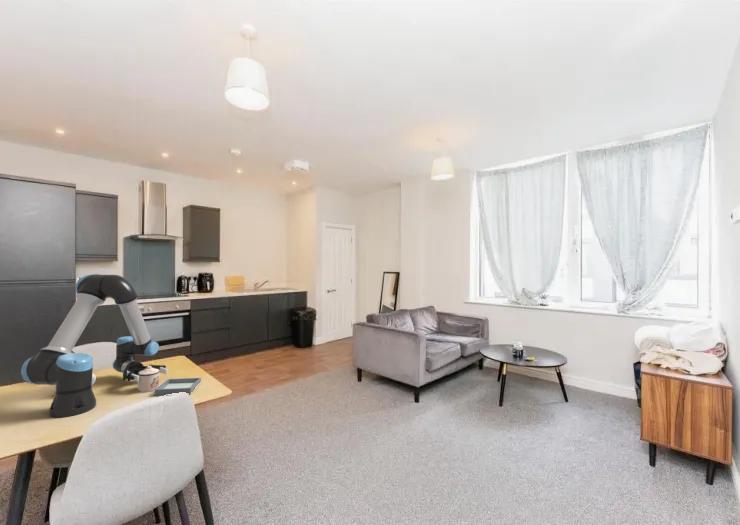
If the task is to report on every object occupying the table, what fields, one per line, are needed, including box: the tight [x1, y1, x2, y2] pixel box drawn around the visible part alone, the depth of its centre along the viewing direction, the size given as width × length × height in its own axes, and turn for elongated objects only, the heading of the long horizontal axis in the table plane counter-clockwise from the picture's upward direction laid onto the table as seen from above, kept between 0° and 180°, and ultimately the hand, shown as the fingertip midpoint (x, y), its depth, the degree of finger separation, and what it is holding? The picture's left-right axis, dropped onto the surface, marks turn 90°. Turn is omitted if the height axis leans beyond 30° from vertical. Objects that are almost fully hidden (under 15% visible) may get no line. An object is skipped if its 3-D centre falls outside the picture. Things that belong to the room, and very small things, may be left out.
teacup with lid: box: [137, 365, 160, 393], centre depth 168 cm, size 12×9×12 cm
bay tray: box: [154, 377, 202, 397], centre depth 167 cm, size 16×16×3 cm
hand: (153, 375), depth 167 cm, fingers open, 13 cm apart
